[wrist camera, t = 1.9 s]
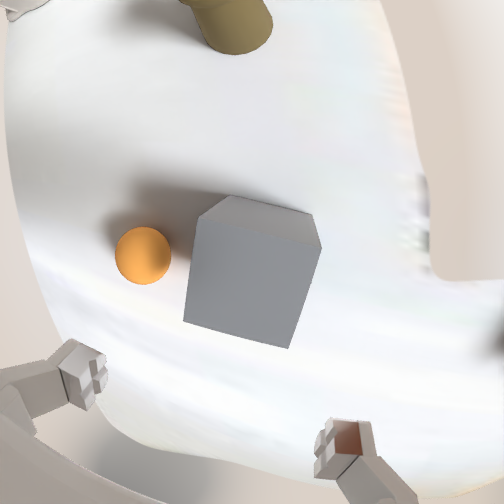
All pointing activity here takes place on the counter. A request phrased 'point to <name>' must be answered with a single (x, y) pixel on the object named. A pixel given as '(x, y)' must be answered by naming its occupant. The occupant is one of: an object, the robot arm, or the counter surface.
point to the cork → (232, 24)
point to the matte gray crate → (251, 270)
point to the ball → (143, 255)
